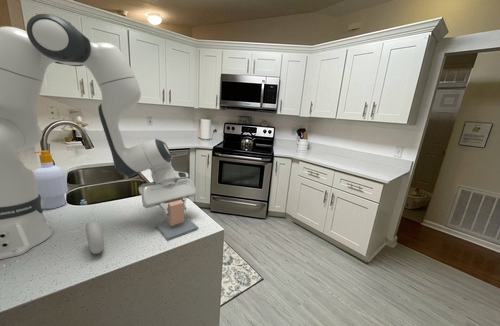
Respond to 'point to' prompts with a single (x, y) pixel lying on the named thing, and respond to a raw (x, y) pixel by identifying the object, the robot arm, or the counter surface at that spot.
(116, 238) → the counter surface
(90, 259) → the counter surface
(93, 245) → the donut
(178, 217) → the block
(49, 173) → the soap bottle
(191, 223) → the coaster
